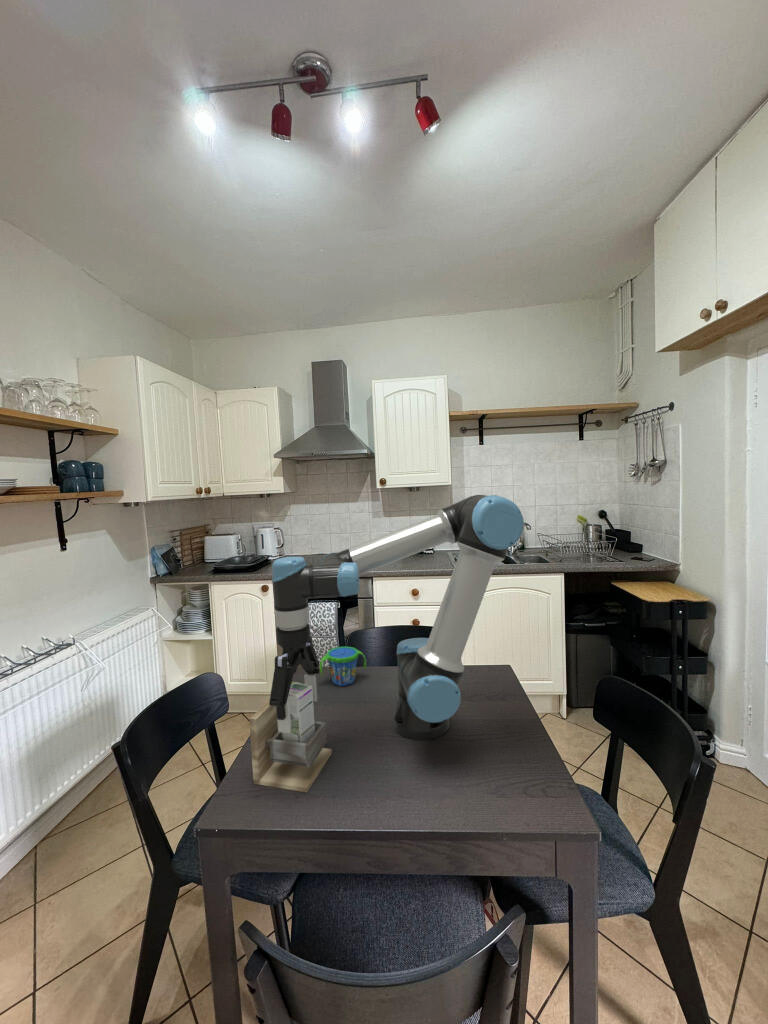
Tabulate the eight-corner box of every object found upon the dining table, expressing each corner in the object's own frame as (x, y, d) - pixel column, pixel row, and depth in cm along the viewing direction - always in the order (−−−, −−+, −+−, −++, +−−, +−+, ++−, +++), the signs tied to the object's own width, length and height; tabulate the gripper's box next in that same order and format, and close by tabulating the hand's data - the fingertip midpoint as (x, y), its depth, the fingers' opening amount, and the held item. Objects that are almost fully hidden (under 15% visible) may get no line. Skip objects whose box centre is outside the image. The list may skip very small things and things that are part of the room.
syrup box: (316, 744, 103) (313, 684, 102) (300, 758, 97) (297, 695, 96) (297, 738, 105) (294, 679, 104) (281, 751, 100) (277, 690, 99)
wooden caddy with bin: (331, 753, 107) (328, 693, 106) (306, 792, 94) (303, 725, 93) (284, 746, 111) (280, 689, 110) (253, 783, 97) (249, 718, 96)
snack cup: (364, 672, 152) (362, 643, 152) (369, 685, 142) (368, 655, 142) (319, 678, 149) (317, 649, 148) (321, 692, 139) (320, 661, 138)
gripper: (302, 608, 112) (307, 688, 114) (247, 644, 88) (254, 745, 90) (329, 609, 110) (334, 690, 112) (280, 646, 86) (287, 749, 88)
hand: (299, 715), depth 101 cm, fingers open, 13 cm apart
